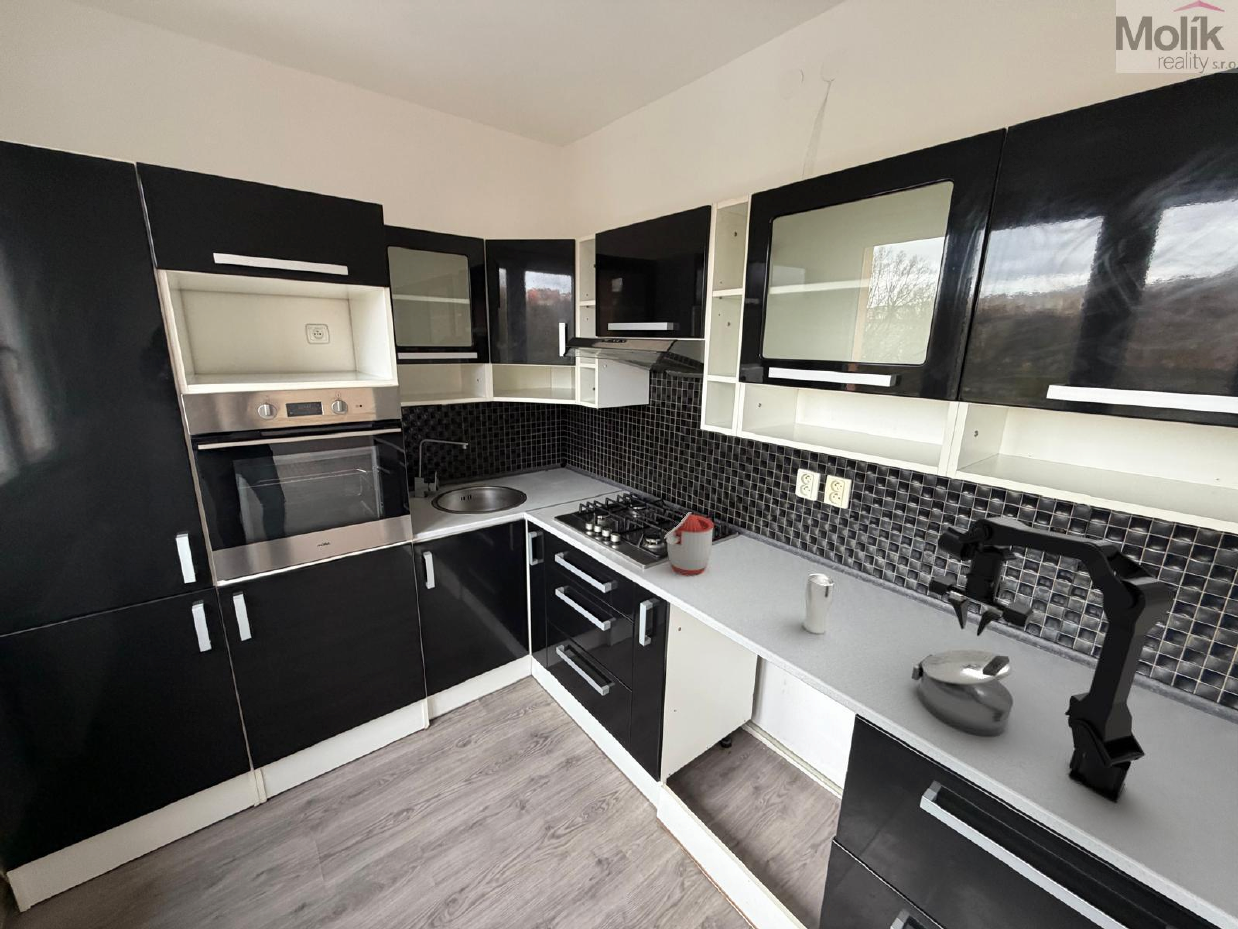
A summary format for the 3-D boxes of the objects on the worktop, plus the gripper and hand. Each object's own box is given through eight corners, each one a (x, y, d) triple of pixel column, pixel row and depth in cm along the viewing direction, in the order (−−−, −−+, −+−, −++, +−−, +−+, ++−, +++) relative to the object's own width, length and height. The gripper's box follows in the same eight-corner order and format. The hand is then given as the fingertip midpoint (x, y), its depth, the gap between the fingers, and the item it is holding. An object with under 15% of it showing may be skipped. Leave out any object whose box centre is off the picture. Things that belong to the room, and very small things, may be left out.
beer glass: (832, 635, 131) (839, 585, 127) (807, 635, 131) (813, 585, 127) (821, 620, 138) (828, 573, 134) (797, 620, 138) (803, 572, 134)
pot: (1018, 714, 104) (1024, 691, 103) (989, 749, 95) (996, 724, 94) (931, 670, 118) (936, 649, 116) (899, 697, 109) (904, 674, 107)
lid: (1023, 659, 102) (1020, 650, 102) (994, 690, 93) (991, 679, 93) (939, 650, 115) (937, 642, 116) (907, 676, 107) (905, 667, 107)
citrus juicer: (652, 566, 168) (654, 513, 163) (687, 554, 178) (690, 503, 173) (684, 585, 156) (687, 528, 151) (720, 570, 166) (724, 516, 161)
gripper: (1049, 578, 104) (1032, 640, 108) (953, 547, 119) (941, 603, 123) (1032, 592, 98) (1015, 658, 102) (933, 558, 113) (921, 617, 117)
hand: (970, 631), depth 111 cm, fingers open, 3 cm apart
